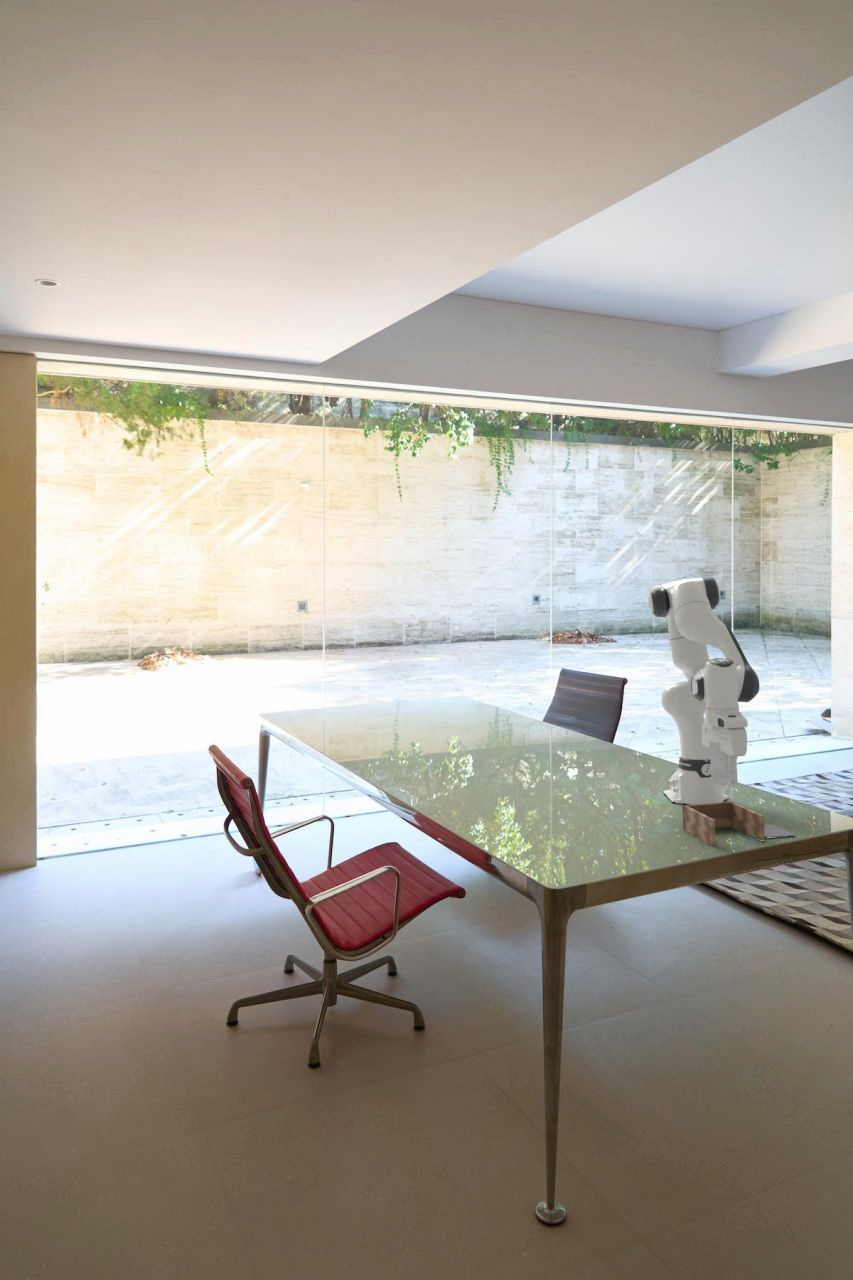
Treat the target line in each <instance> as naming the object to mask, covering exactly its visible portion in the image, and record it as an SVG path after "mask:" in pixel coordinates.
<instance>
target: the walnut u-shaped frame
mask: <svg viewBox="0 0 853 1280" xmlns="http://www.w3.org/2000/svg"><path fill="white" fill-rule="evenodd" d="M682 821H683V823H682V824H683V825H682V827H683V831H685V832H686V833H688V834H690V835H692V836H694V838H695V837H696V838H697V839H699V840H700V841H702V842H704V843H706V844H707V845H710V846H712V847H716V841H717V840H716V829H720V828H729V827H730V828H733V829H735V830H737V831H739V832H741V833H743V832H744V833H743V834H745V833H746V834H745V835H747V834H748V835H747V836H749V835H751V836H753V837H755V838H757V839H759V840H766V838H765V835H764V825H765V816H764V814H761V813H760V812H759V813H758V812H756V811H754V810H752V809H750V808H748V807H745V806H743V805H741V804H738V803H736V802H734V801H723V802H720V803H708V804H695V805H692V804H684V805H682ZM751 836H750V837H751ZM753 837H752V838H753ZM755 838H754V839H755ZM757 839H756V840H757ZM759 840H758V841H759Z"/></svg>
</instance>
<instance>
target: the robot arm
mask: <svg viewBox="0 0 853 1280" xmlns="http://www.w3.org/2000/svg"><path fill="white" fill-rule="evenodd" d="M648 593H649V594H648V598H647V605H648V607H649V609H650V611H651V613H652V614H653V615H654V616H655V617H657V618H666V617H667V621H668V622H667V631H668V639H669V644H670V645H669V646H670V650H671V651H670V652H671V657H672V663H673V664H674V666H675V667H676V668H677V669H679V670H681V671H682V672H683V674H684V675H685V677H686V680H687V681H679V682H676V683H674V684H671V685H669V686H667V687H665V688H664V689H663V691H662V693H661V706H662V708H663V710H665V712H666V713H667V714H668V715H670V716H671V717H672V719H673V720H674V722H675V724H676V726H677V729H678V734H679V744H680V756H679V757H678V758H679V759H678V769H677V770H676V771H675V772H674V773H673V774H672V775H671V776H670V779H668V781H667V784H668V787H670V788H669V789H666V790H663V792H664V793H665V794H666V795H667V797H668V798H669V799H670V800H671V801H672V802H675V803H674V804H684V803H685V804H684V805H695V804H708V803H720V802H725V800H728V799H729V797H728V795H727V794H725V790H724V789H725V787H724V785H716V784H712V782H711V765H710V749H709V742H710V741H717V742H719V751H720V752H722V753H725V754H728V758H729V760H728V763H727V764H726V766H727V770H729V771H734V770H735V763H736V761H738V757H745V756H746V754H747V751H748V733H747V729H746V728H747V727H748V725H749V723H748V719H747V718H746V717H745V716H744V715H743V713H741V711H740V705H739V703H750V702H751V701H752V700H753V699H755V697H756V696H757V695H758V694H759V692H760V680H759V677H758V674H757V673H756V671H755V670H754V668H753V667H752V666H751V665H750V663H749V661H748V659H747V657H746V656H745V654H744V651H743V650H742V648H741V646H740V643H739V641H738V640H737V638H736V636H735V634H734V633H733V631H732V628H730V626H729V625H728V624H727V623H725V622H724V621H722V620H721V619H719V618H718V617H717V616H716V615H715V612H713V610H714V609H715V608H716V607H717V606H718V605H719V604H720V599H721V590H720V587H719V585H718V583H717V581H716V580H715V579H714V578H713V577H708V576H706V577H705V576H702V577H698V578H697V577H696V578H695V577H693V578H684V579H681V580H674V581H671V582H667V583H664V584H661V583H660V584H656V585H654V586H652V587H651V588H650V590H649V591H648ZM707 646H711V647H714V648H716V649H718V650H720V651H721V653H722V654H723V656H724V658H723V657H715V658H714V657H713V658H711V659H710V656H709V652H708V647H707ZM704 715H705V716H704ZM667 797H666V798H667ZM668 798H667V799H668ZM669 799H668V800H669ZM670 800H669V801H670ZM671 801H670V802H671ZM672 802H671V803H672Z"/></svg>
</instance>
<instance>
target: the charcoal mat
mask: <svg viewBox="0 0 853 1280" xmlns="http://www.w3.org/2000/svg"><path fill="white" fill-rule="evenodd" d="M764 835H765V836H766V837H785V836H794V835H795V836H796V834H794V833H792V832H790V831H788V830H786V829H783V828H781V827H779V826H777V825H774V824H764ZM785 838H786V837H785Z"/></svg>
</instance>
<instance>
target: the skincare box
mask: <svg viewBox="0 0 853 1280" xmlns="http://www.w3.org/2000/svg"><path fill="white" fill-rule="evenodd" d="M709 749H710V765H711V782H712V784H716V785H723V786H727V787H733V786H736V785H738V783H739V782H738V781H739V780H738V765H737V764H738V763H737V761H738V760H737V761H736V763H735V770H734V771H729V770H727V766H726V764H727V763H728V760H729V758H728V754H725V753H722V752H720V751H719V742H717V741H710V742H709Z"/></svg>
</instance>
